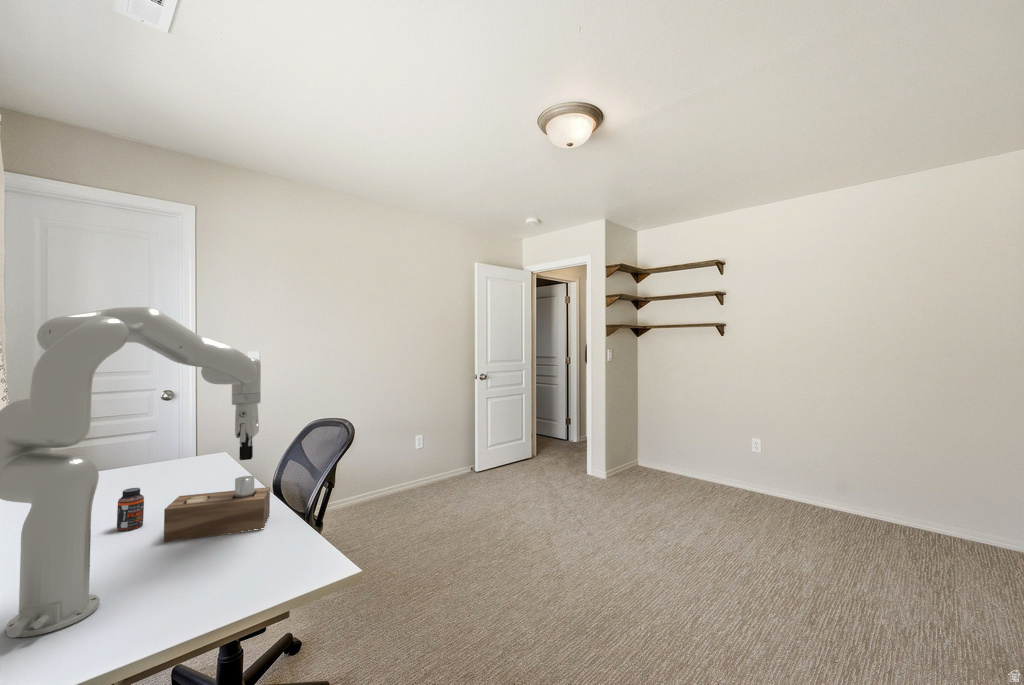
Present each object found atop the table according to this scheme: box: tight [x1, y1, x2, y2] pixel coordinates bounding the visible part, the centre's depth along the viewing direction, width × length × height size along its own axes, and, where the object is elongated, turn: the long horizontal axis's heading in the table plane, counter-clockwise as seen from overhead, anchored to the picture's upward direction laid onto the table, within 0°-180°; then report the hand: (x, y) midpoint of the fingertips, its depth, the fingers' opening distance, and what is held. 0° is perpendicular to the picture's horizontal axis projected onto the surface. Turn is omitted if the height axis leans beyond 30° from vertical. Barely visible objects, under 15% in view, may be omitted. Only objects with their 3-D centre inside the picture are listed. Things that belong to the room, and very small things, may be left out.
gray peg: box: [234, 475, 255, 498], centre depth 132 cm, size 5×5×9 cm
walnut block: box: [163, 486, 271, 543], centre depth 129 cm, size 12×24×9 cm, turn 112°
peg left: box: [186, 496, 208, 504], centre depth 127 cm, size 5×5×9 cm
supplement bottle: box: [116, 487, 145, 532], centre depth 130 cm, size 6×6×11 cm
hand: (246, 459), depth 132 cm, fingers closed
